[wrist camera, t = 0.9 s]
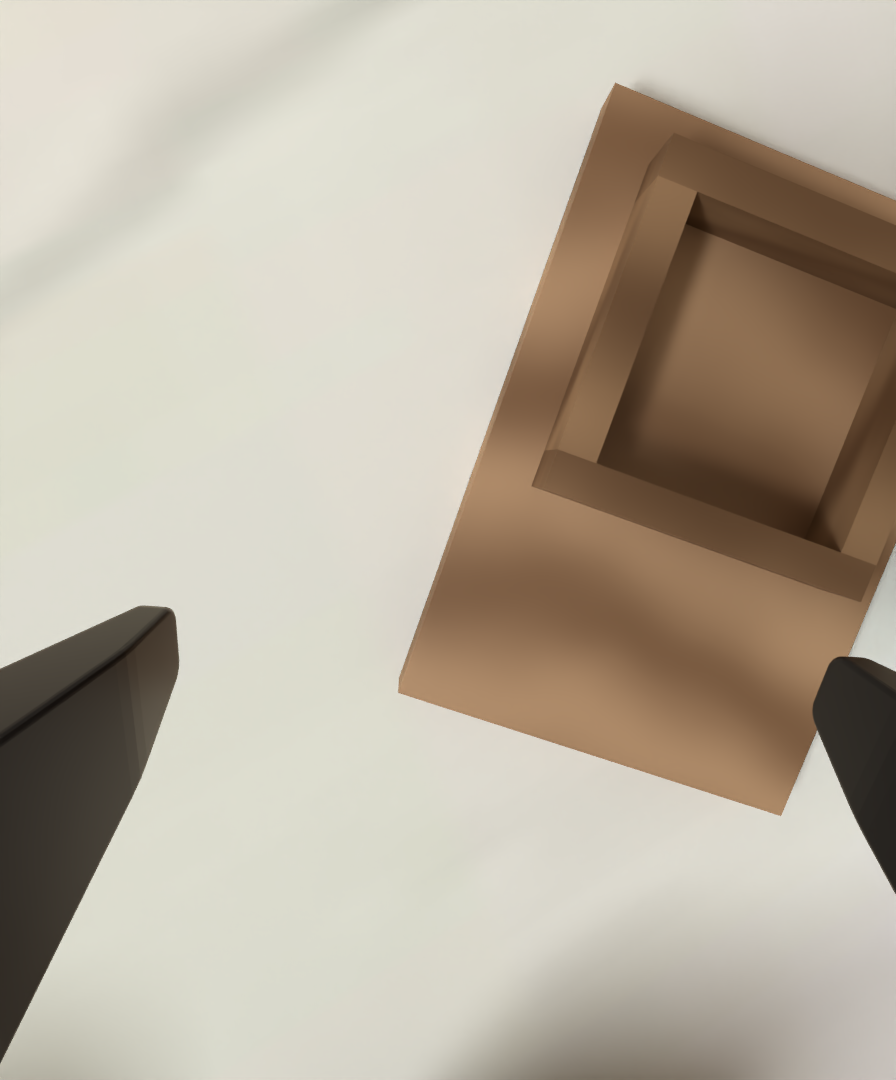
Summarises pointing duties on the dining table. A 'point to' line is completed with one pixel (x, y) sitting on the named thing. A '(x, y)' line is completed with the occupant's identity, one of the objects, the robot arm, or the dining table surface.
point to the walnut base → (680, 465)
